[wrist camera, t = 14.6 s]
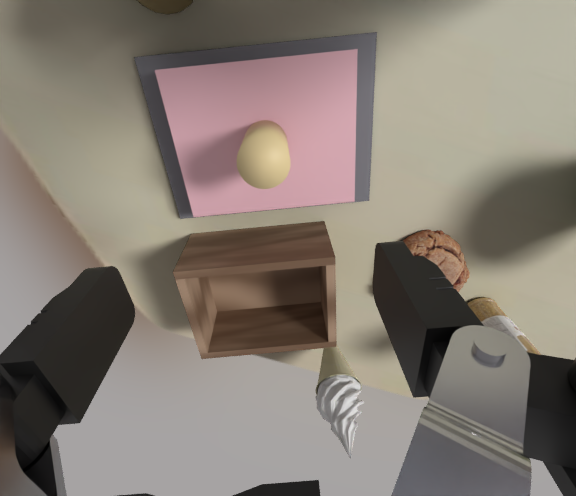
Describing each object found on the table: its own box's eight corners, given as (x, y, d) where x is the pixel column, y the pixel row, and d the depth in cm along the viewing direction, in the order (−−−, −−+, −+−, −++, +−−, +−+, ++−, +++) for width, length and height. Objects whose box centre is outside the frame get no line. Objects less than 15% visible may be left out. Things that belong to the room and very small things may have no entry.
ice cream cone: (302, 328, 41) (315, 451, 28) (339, 315, 40) (370, 436, 27) (316, 352, 43) (335, 476, 30) (352, 340, 42) (386, 463, 30)
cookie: (459, 216, 34) (474, 228, 31) (465, 289, 39) (479, 306, 36) (368, 244, 35) (375, 259, 33) (386, 312, 40) (393, 329, 38)
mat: (135, 57, 25) (133, 57, 25) (375, 32, 25) (376, 32, 25) (181, 217, 32) (180, 218, 32) (368, 199, 32) (369, 200, 32)
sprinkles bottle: (500, 312, 41) (589, 412, 29) (465, 328, 42) (538, 430, 30) (488, 289, 39) (580, 387, 27) (453, 307, 40) (525, 407, 28)
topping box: (191, 233, 33) (172, 272, 27) (324, 221, 33) (335, 257, 27) (212, 312, 39) (201, 358, 33) (326, 302, 39) (336, 346, 33)
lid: (163, 69, 25) (120, 73, 18) (351, 49, 25) (381, 45, 18) (198, 207, 32) (176, 250, 24) (349, 193, 31) (371, 231, 24)
